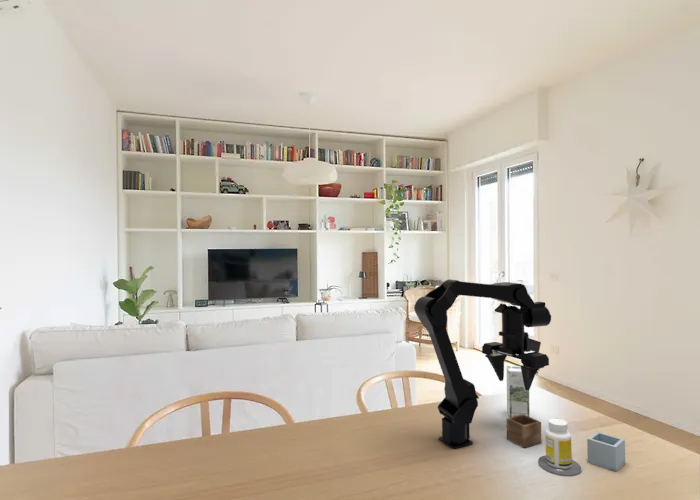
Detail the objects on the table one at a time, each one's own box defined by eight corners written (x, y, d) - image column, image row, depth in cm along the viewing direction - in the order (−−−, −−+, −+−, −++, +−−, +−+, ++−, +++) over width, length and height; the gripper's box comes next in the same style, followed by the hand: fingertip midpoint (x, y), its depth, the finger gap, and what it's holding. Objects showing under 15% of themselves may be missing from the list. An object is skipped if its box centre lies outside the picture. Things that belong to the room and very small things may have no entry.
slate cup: (616, 471, 97) (615, 447, 97) (587, 462, 101) (587, 438, 101) (625, 462, 101) (624, 439, 101) (597, 453, 105) (597, 431, 105)
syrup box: (526, 412, 132) (525, 365, 132) (530, 420, 126) (529, 371, 126) (506, 411, 133) (506, 364, 133) (509, 419, 128) (508, 370, 128)
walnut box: (524, 448, 109) (524, 426, 109) (506, 439, 114) (506, 418, 114) (541, 443, 112) (541, 422, 112) (523, 434, 117) (522, 414, 117)
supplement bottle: (573, 462, 101) (573, 420, 101) (569, 472, 96) (568, 428, 96) (548, 456, 104) (548, 415, 104) (543, 465, 100) (542, 422, 100)
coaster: (563, 479, 94) (563, 478, 94) (529, 461, 102) (529, 460, 102) (590, 470, 98) (590, 468, 98) (555, 453, 106) (555, 451, 106)
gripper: (563, 331, 113) (564, 390, 113) (508, 321, 130) (509, 372, 130) (532, 335, 108) (533, 397, 108) (480, 324, 125) (481, 378, 125)
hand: (514, 385), depth 118 cm, fingers open, 9 cm apart
